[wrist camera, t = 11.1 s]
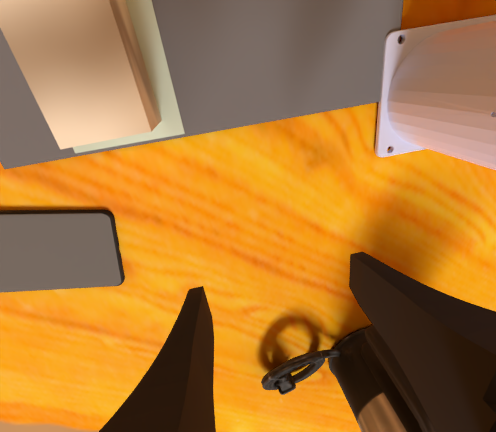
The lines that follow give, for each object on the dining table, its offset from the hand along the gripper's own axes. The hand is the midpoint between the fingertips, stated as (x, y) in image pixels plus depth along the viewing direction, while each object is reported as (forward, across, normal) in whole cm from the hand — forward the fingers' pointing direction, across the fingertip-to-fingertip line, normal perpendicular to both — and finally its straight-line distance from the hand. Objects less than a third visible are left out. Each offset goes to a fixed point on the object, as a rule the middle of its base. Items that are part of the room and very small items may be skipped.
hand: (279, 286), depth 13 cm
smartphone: (+10, +18, 0) cm, 21 cm away
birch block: (+9, +7, -11) cm, 16 cm away
